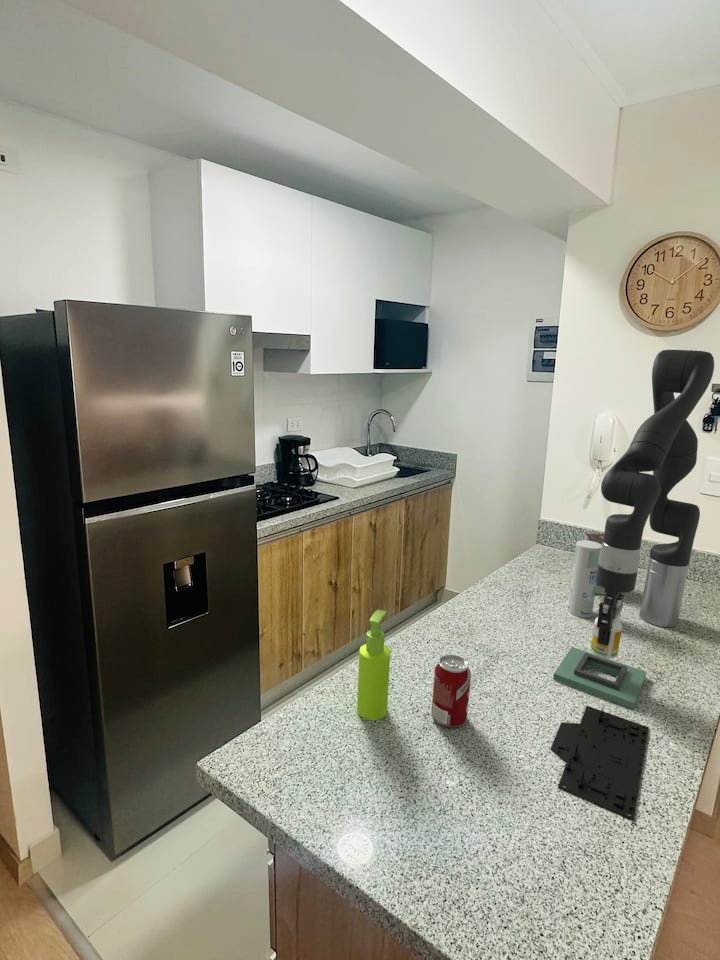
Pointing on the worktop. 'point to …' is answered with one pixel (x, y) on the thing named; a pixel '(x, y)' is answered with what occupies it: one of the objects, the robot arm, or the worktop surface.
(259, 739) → the worktop surface
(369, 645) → the soap dispenser
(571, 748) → the circuit board
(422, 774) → the worktop surface
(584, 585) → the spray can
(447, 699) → the soda can
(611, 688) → the socket board
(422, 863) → the worktop surface
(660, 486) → the robot arm
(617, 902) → the worktop surface
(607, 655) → the supplement bottle
